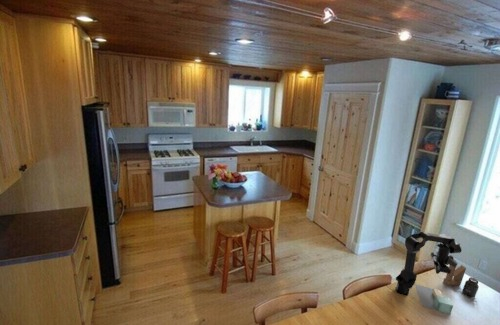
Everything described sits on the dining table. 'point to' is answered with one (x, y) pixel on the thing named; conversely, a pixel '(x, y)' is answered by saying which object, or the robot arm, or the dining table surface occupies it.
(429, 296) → the mat
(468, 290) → the supplement bottle
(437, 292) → the slat
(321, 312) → the dining table surface
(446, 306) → the end cap
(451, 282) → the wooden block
